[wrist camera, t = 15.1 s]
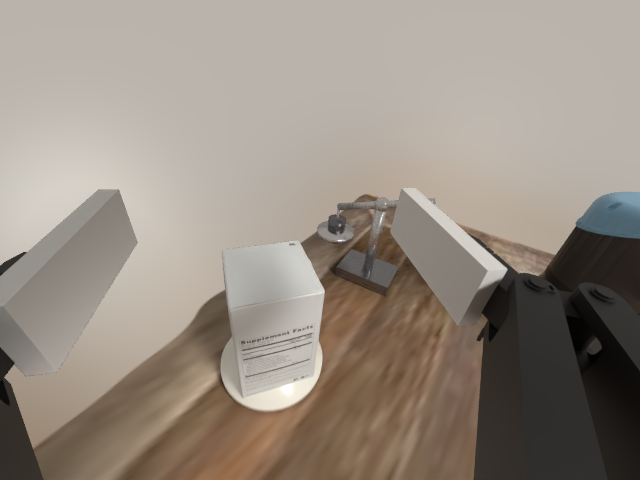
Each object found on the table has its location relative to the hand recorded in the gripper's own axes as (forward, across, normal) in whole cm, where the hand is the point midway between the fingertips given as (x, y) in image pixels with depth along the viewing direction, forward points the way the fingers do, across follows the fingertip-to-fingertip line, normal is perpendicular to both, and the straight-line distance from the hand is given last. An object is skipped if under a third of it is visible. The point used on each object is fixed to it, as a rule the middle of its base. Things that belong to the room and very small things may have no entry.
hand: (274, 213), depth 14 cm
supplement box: (+10, 0, -26) cm, 28 cm away
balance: (+26, +18, -28) cm, 42 cm away
